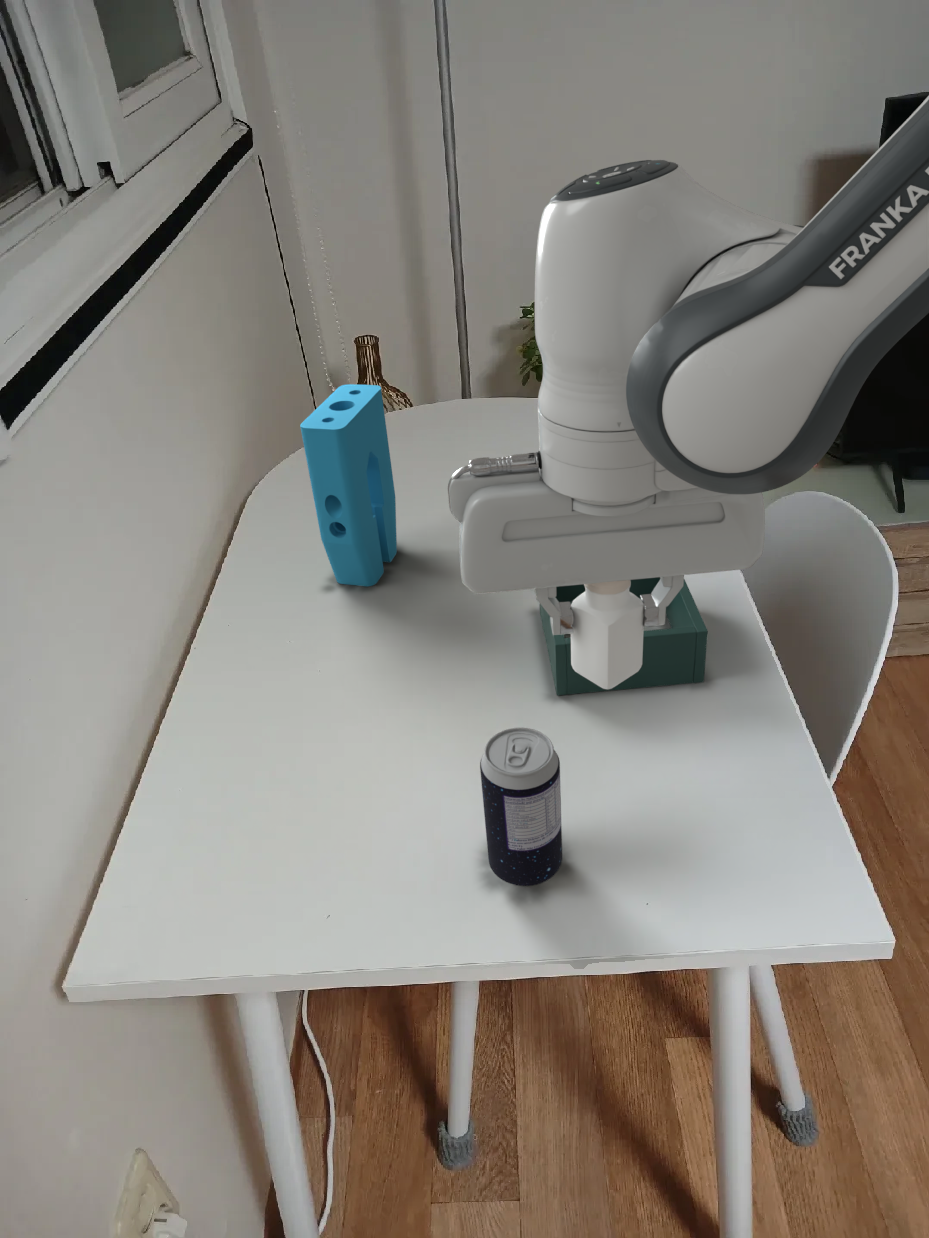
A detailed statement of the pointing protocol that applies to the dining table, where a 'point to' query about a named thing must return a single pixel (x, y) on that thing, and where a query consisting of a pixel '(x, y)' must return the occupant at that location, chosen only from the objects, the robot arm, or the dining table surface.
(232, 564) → the dining table surface
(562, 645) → the bin
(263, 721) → the dining table surface
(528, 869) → the beverage can
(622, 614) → the salt shaker
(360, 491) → the block
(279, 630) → the dining table surface
